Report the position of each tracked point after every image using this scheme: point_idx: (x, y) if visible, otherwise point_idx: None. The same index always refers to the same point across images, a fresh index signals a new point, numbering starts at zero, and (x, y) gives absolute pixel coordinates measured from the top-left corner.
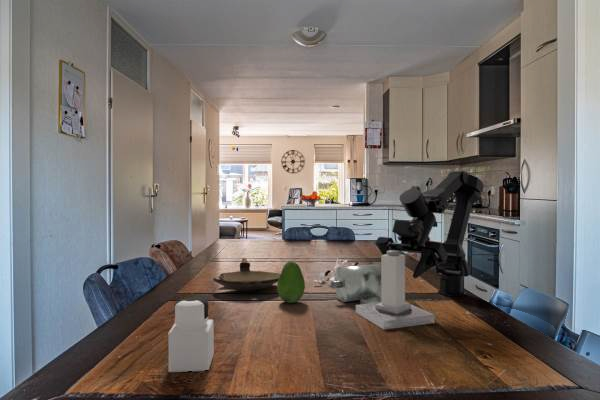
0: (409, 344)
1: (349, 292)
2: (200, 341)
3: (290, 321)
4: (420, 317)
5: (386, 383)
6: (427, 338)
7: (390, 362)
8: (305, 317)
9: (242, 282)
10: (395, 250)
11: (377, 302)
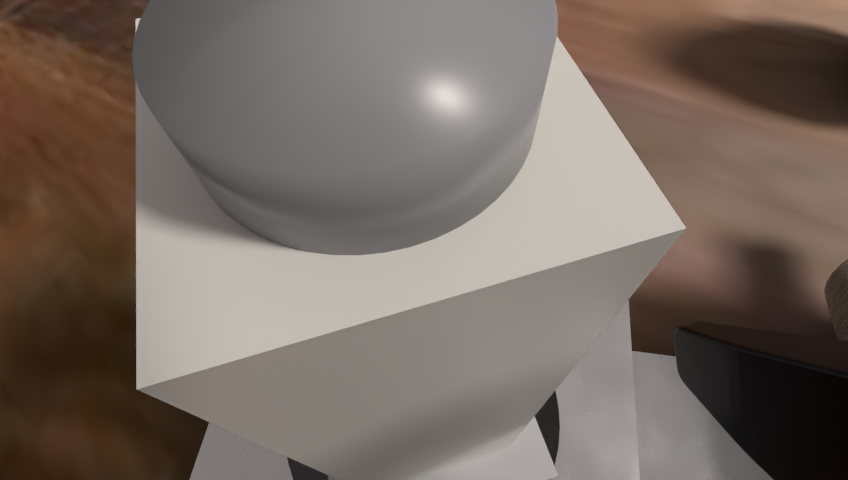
0: (97, 224)
1: (833, 277)
2: None
3: (581, 4)
4: (193, 476)
5: (6, 22)
6: (68, 344)
7: (65, 87)
8: (613, 56)
9: None
10: (438, 141)
11: (640, 428)
